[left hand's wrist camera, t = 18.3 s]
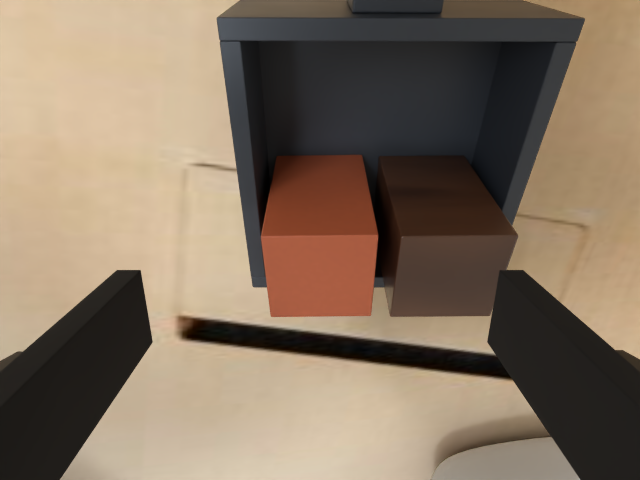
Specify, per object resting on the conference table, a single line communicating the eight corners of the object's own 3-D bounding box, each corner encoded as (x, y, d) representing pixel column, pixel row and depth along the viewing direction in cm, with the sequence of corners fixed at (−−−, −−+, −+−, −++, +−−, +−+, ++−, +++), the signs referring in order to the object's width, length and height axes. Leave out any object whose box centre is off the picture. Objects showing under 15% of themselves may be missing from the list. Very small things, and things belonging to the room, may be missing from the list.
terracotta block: (358, 224, 26) (371, 316, 20) (282, 225, 26) (270, 317, 20) (362, 154, 23) (378, 235, 17) (276, 155, 23) (260, 236, 17)
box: (461, 229, 27) (490, 287, 23) (263, 229, 27) (252, 287, 23) (600, -299, 14) (741, -420, 9) (210, -302, 14) (156, -423, 9)
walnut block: (448, 225, 26) (490, 316, 20) (372, 225, 26) (389, 317, 20) (464, 154, 23) (519, 235, 17) (378, 155, 23) (401, 236, 17)
